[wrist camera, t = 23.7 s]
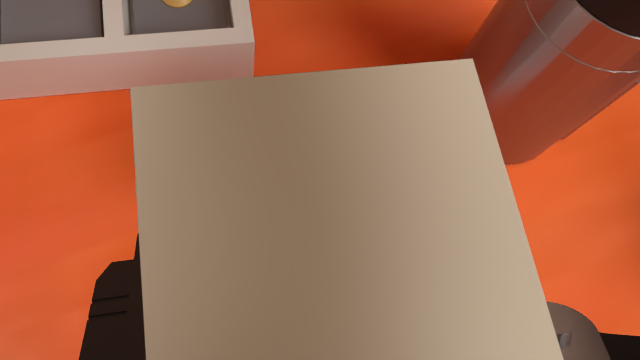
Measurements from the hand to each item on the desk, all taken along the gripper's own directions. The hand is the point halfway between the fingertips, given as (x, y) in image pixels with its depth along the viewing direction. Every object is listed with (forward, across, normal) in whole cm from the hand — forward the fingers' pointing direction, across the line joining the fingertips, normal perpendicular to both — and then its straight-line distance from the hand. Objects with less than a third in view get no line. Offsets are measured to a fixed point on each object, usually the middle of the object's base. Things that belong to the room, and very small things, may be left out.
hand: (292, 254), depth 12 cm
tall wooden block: (+2, 0, +4) cm, 5 cm away
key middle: (+35, +11, +1) cm, 37 cm away
